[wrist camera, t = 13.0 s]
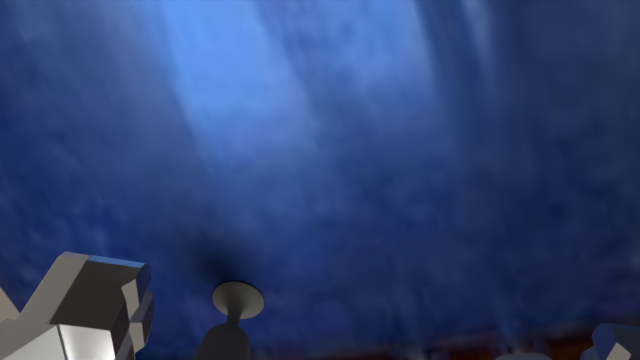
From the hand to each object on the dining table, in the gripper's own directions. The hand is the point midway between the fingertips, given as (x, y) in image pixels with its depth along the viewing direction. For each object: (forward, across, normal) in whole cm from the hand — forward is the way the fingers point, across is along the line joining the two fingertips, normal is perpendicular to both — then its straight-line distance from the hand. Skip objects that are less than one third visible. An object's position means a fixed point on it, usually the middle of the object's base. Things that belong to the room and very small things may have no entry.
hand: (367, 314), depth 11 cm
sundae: (+30, +8, +34) cm, 47 cm away
